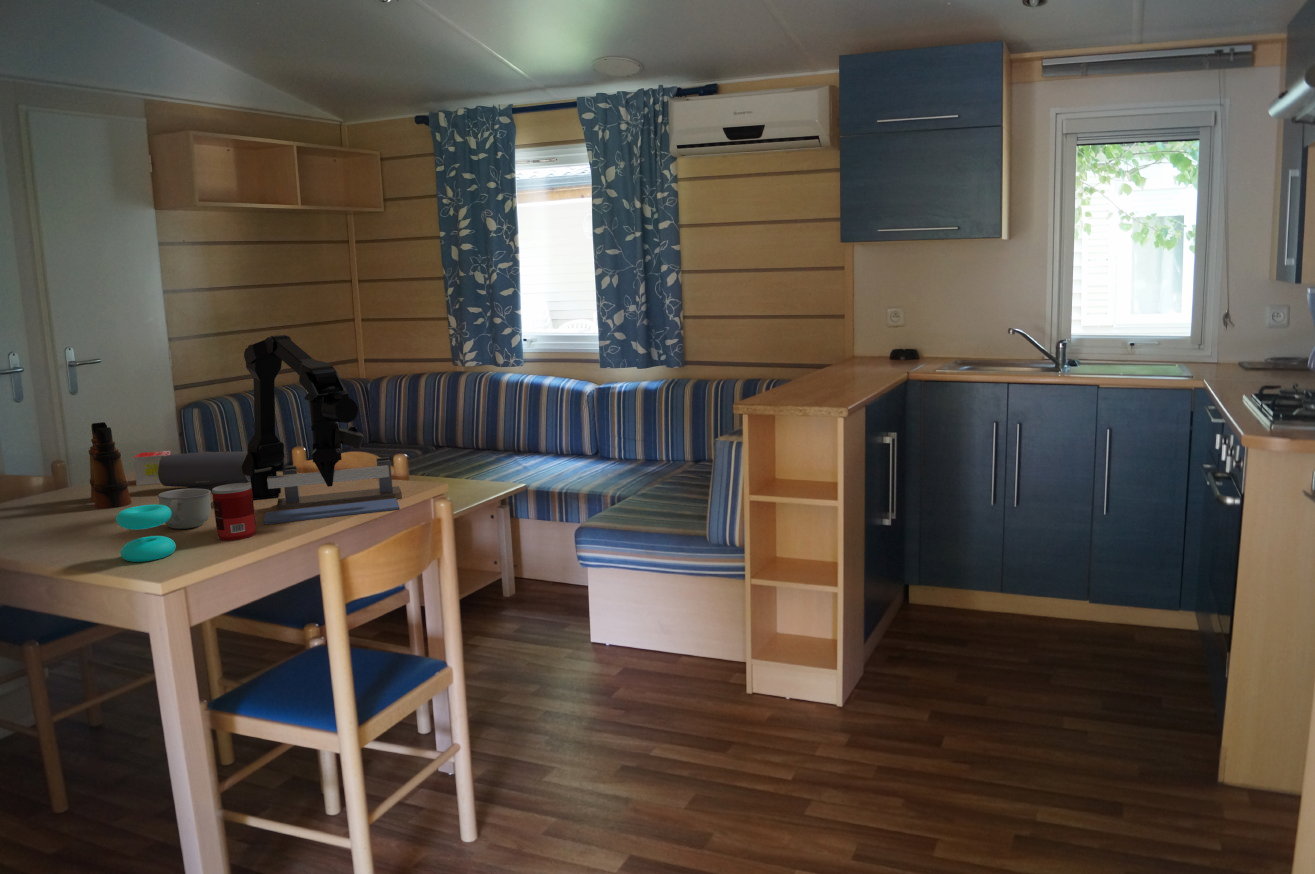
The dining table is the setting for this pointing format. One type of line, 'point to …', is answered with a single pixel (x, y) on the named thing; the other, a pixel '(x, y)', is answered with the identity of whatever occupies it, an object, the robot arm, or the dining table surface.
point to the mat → (330, 511)
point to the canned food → (234, 511)
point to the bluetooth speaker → (202, 469)
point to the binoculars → (106, 470)
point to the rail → (318, 479)
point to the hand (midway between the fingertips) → (330, 485)
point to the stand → (338, 498)
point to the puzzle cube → (148, 467)
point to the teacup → (187, 507)
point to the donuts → (149, 545)
